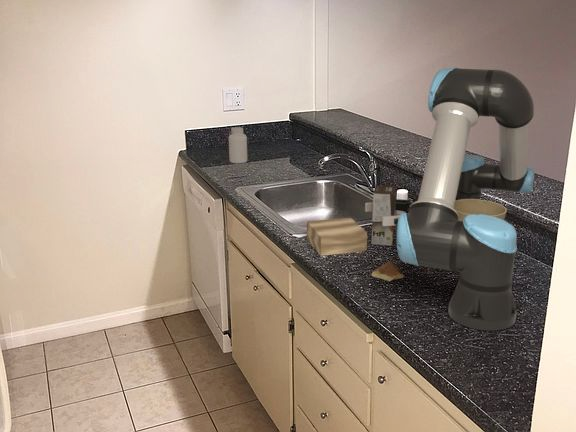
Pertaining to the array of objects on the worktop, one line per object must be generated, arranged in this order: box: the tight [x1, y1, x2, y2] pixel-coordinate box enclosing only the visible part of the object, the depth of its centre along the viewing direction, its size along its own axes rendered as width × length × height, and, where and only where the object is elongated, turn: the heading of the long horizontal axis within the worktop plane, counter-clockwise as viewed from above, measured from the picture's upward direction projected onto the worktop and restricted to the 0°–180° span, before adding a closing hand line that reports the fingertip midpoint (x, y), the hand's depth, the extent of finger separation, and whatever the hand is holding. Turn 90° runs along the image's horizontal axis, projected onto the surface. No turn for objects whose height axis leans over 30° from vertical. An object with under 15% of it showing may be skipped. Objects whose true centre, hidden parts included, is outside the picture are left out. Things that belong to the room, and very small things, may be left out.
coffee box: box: [370, 184, 397, 246], centre depth 198 cm, size 9×6×16 cm
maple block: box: [306, 217, 368, 256], centre depth 196 cm, size 14×14×6 cm
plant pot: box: [454, 199, 508, 221], centre depth 182 cm, size 15×15×16 cm
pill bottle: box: [228, 126, 248, 164], centre depth 290 cm, size 8×8×15 cm
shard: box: [371, 259, 405, 282], centre depth 177 cm, size 11×8×2 cm
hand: (373, 214), depth 197 cm, fingers open, 13 cm apart
